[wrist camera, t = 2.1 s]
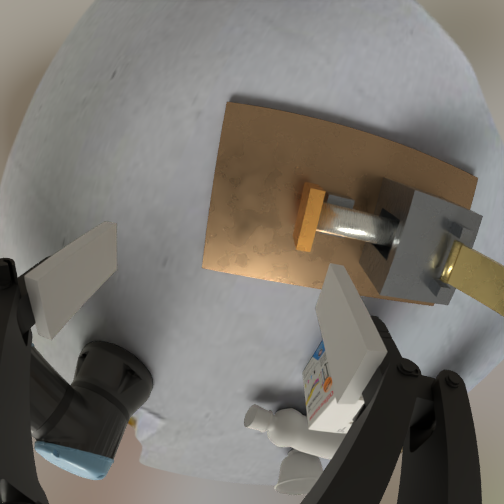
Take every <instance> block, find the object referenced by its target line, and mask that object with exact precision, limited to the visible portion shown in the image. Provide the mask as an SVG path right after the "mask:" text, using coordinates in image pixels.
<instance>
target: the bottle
mask: <svg viewBox="0 0 504 504" xmlns="http://www.w3.org/2000/svg"><path fill="white" fill-rule="evenodd" d="M244 426H245V427H247V428H251V429H256V430H260V432H265V431H266V430H268V431H267V435H268V439H269V440H270V441H271V442H273V443H274V444H275V445H276V446H277V447H289V446H290V447H292V448H294V449H296V450H298V451H301V452H304V453H307V454H311V455H315V456H318V457H322V458H326V459H330V460H331V459H332V457H333V456H334V454H335V452H336V451H337V449H338V448H339V446H340V444H341V442H342V441H343V439H344V437H345V436H346V434H347V433H333V432H324V431H316V430H310V429H308V420H307V416H305V415H302V414H301V413H300V412H298V411H297V410H295V409H293V408H289V409H282V410H279V411H278V412H276V413H275V415H273V412H272V411H271V410H269V411H268V410H266V409H264V408H262V407H260V406H258V405H256V404H254V405H252V406H251V407H250V408H249V410H248V411H247V413H246V416H245V419H244Z"/></svg>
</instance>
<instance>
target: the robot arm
mask: <svg viewBox="0 0 504 504" xmlns="http://www.w3.org/2000/svg"><path fill="white" fill-rule="evenodd" d="M116 270H117V223H112V222H106V221H105V222H103V223H101V224H100V225H98V226H97V227H95V228H93V229H92V230H90V231H89V232H87V233H85V234H84V235H82V236H81V237H79V238H78V239H76V240H75V241H73V242H72V243H70V244H69V245H67V246H66V247H64V248H63V249H61V250H60V251H58V252H57V253H55V254H54V255H51V256H49V257H46V258H45V259H43V260H42V261H40V262H39V264H38V263H37V264H36V265H35V266H33V267H32V268H31V269H29V270H28V271H26V272H25V273H24V274H22V275H21V276H20V277H17V272H16V267H15V262H14V261H13V259H10V258H1V259H0V504H49V503H48V500H47V497H46V495H45V492H44V491H43V489H42V487H41V486H40V483H39V481H38V478H37V473H36V467H35V461H34V453H33V445H32V437H34V438H35V439H36V442H35V450H36V451H37V453H39V454H40V455H41V456H42V457H43V458H45V459H46V460H48V461H49V462H51V463H53V464H55V465H56V466H58V467H60V468H62V469H64V470H66V471H69V472H71V473H73V474H75V475H78V476H80V477H84V478H87V479H92V480H100V479H103V478H104V477H105V476H106V475H107V473H108V471H109V469H110V467H111V465H112V463H113V462H114V457H115V454H116V452H117V449H118V447H119V444H120V441H121V439H122V436H123V434H124V431H125V428H126V426H127V424H128V421H129V419H130V417H131V416H132V415H133V414H134V413H135V412H136V411H137V410H138V409H139V408H140V407H141V406H142V405H143V404H144V403H145V402H146V401H147V399H148V398H149V396H150V393H151V391H152V388H153V381H152V377H151V375H150V373H149V371H148V370H147V369H146V367H145V366H144V365H143V364H142V363H141V362H140V361H139V360H138V359H137V358H136V357H135V356H133V355H132V354H131V353H129V352H128V351H126V350H124V349H123V348H121V347H119V346H116V345H114V344H111V343H107V342H101V341H96V342H91V343H89V344H87V345H86V346H85V347H84V349H83V350H82V352H81V353H80V355H79V357H78V361H77V366H76V370H75V375H74V380H73V382H72V384H71V386H70V385H69V384H68V383H67V382H66V381H65V380H64V379H63V378H62V377H61V376H60V375H59V374H58V373H57V372H56V371H55V369H54V368H53V367H52V366H51V365H50V364H49V363H48V362H47V361H46V360H45V359H44V358H43V356H42V355H41V354H40V353H39V352H38V351H37V350H36V348H35V347H34V344H33V343H32V331H31V327H32V326H33V325H34V324H36V328H37V331H38V334H39V335H41V336H43V337H45V338H47V339H50V340H52V339H53V338H54V337H55V336H56V335H57V334H58V332H59V331H60V330H61V329H62V328H63V327H64V326H65V324H66V323H67V322H68V321H69V320H70V319H71V318H72V317H73V315H74V314H75V313H76V312H77V311H78V310H79V309H80V308H81V307H82V306H83V305H84V303H85V302H86V301H87V300H88V299H89V298H90V297H91V296H92V295H93V294H94V293H95V292H96V291H97V290H98V289H99V288H100V287H101V286H102V285H103V283H104V282H105V281H106V280H107V279H108V278H109V277H110V276H111V275H112V274H113V273H114V272H115V271H116ZM315 309H316V313H317V317H318V322H319V326H320V330H321V334H322V338H323V342H324V347H325V351H326V355H327V360H328V364H329V369H330V373H331V378H332V382H333V387H334V392H335V396H336V401H337V404H356V402H357V401H358V399H359V398H360V396H361V395H362V396H363V399H364V404H363V405H362V407H361V408H360V410H359V411H358V412H357V414H356V415H355V416H354V418H353V419H352V420H353V423H352V425H351V427H350V429H349V430H348V432H347V434H346V436H345V437H344V439H343V441H342V442H341V444H340V446H339V448H338V449H337V451H336V452H335V454H334V456H333V457H332V459H331V460H330V462H329V464H328V465H327V467H326V468H325V470H324V471H323V473H322V474H321V476H320V477H319V479H318V480H317V482H316V483H315V484H314V486H313V487H312V489H311V490H310V491H309V493H308V494H307V495H306V497H305V498H304V500H303V501H302V502H301V504H379V503H380V501H381V499H382V497H383V494H384V492H385V490H386V488H387V485H388V483H389V481H390V478H391V476H392V473H393V471H394V468H395V466H396V463H397V460H398V458H399V455H400V452H401V449H402V446H403V454H402V467H401V477H400V485H399V493H398V500H397V504H482V496H481V477H480V465H479V455H478V448H477V441H476V434H475V428H474V423H473V418H472V413H471V408H470V403H469V399H468V394H467V390H466V386H465V383H464V381H463V379H462V378H461V377H460V376H459V375H458V374H457V373H455V372H453V371H450V370H443V371H441V372H440V373H439V375H438V376H437V377H436V379H435V378H431V377H427V376H423V375H421V371H420V369H419V367H418V366H417V365H416V364H415V363H414V362H412V361H410V360H409V359H406V358H402V356H401V354H400V352H399V350H398V348H397V346H396V345H395V343H394V341H393V339H392V337H391V335H390V333H388V332H389V331H388V329H387V327H386V326H385V324H384V323H383V322H382V321H381V320H380V319H379V318H378V317H377V316H370V315H369V313H368V311H367V309H366V307H365V305H364V303H363V301H362V299H361V297H360V295H359V293H358V291H357V289H356V288H355V286H354V284H353V282H352V280H351V278H350V276H349V275H348V273H347V271H346V269H345V267H344V266H343V265H337V264H332V263H330V264H329V268H328V271H327V274H326V277H325V280H324V283H323V286H322V289H321V293H320V296H319V299H318V301H317V304H316V307H315ZM2 502H3V503H2Z"/></svg>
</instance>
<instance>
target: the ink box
mask: <svg viewBox="0 0 504 504" xmlns="http://www.w3.org/2000/svg"><path fill="white" fill-rule="evenodd" d="M302 375H303V383H304V392H305V401H306V410H307V420H308V429H310V430H316V431H324V432H333V433H347V432H348V430H349V429H350V427H351V425H352V423H353V420H352V419H353V418H354V416H355V415H356V414H357V412H358V411H359V410H360V408H361V407H362V405H363V404H364V399H363V396H362V395H361V396H360V398H359V399H358V401H357V402H356V404H337V401H336V396H335V392H334V387H333V382H332V378H331V373H330V369H329V364H328V360H327V355H326V351H325V347H324V342H323V340H322V342H321V344H320V345H319V347H318V348H317V350H316V352H315V353H314V355H313V357H312V358H311V360H310V362H309V363H308V365H307V366H306V368H305V370H304V371H303V373H302Z"/></svg>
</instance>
